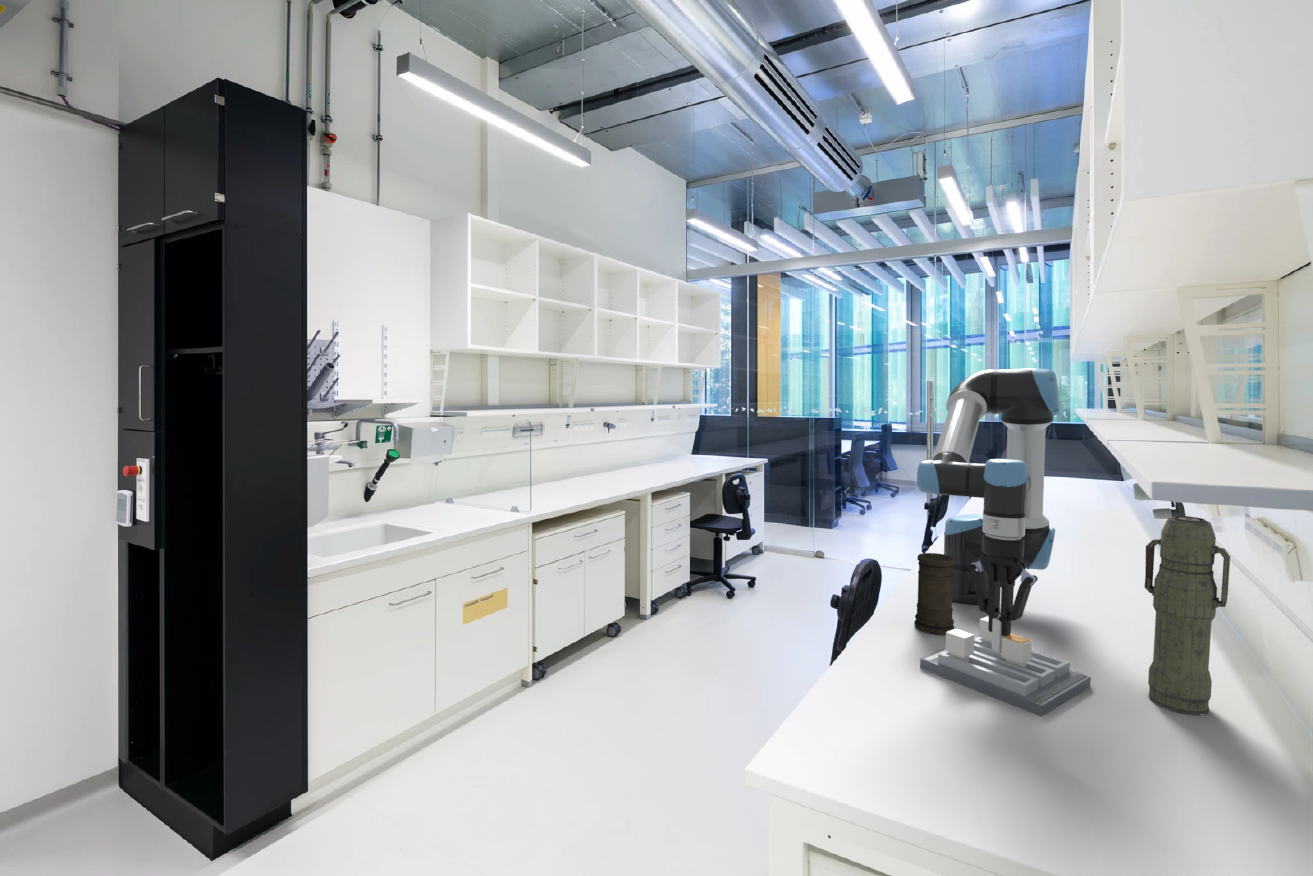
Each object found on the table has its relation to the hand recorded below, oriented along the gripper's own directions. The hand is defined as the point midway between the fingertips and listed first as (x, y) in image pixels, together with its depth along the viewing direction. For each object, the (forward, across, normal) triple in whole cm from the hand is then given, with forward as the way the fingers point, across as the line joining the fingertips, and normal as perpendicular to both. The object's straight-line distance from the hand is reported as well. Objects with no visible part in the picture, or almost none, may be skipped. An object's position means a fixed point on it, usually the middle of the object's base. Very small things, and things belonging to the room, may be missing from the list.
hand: (998, 649), depth 127 cm
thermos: (+6, +25, +16) cm, 30 cm away
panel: (+6, +1, 0) cm, 6 cm away
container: (+6, -22, +13) cm, 26 cm away
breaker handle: (+3, +3, 0) cm, 5 cm away
